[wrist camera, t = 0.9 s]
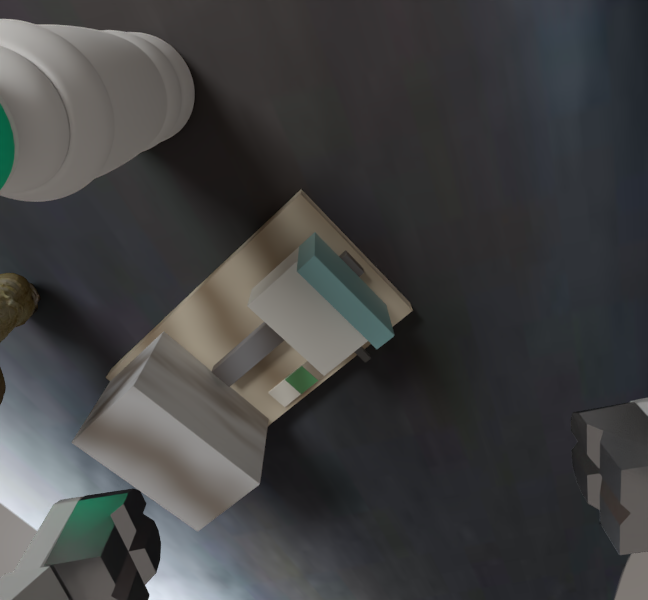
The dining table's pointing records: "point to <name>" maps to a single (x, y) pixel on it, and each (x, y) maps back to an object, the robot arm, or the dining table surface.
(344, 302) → the block with teal panel
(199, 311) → the frame
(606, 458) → the robot arm
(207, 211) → the dining table surface
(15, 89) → the water bottle
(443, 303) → the dining table surface
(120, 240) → the dining table surface
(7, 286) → the mushroom
